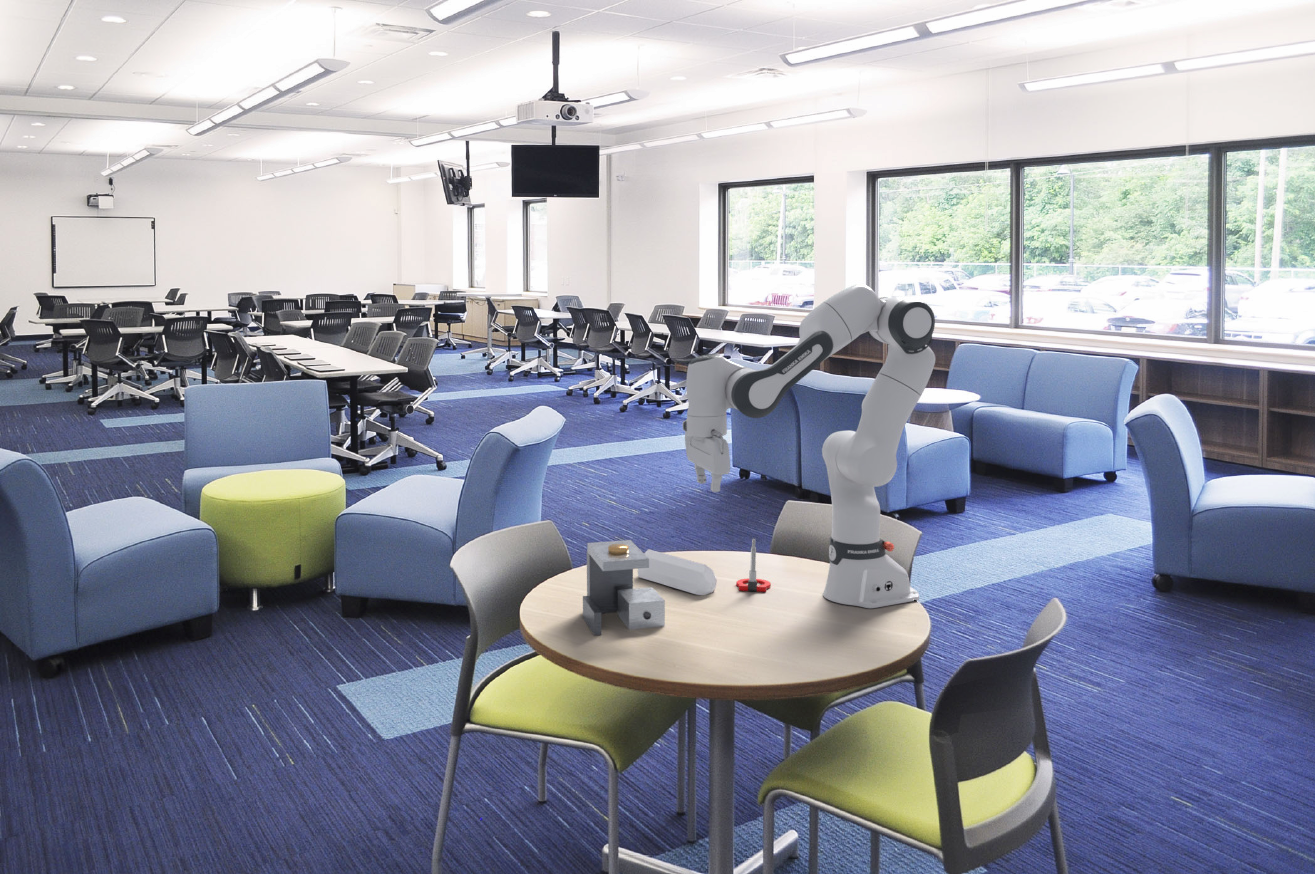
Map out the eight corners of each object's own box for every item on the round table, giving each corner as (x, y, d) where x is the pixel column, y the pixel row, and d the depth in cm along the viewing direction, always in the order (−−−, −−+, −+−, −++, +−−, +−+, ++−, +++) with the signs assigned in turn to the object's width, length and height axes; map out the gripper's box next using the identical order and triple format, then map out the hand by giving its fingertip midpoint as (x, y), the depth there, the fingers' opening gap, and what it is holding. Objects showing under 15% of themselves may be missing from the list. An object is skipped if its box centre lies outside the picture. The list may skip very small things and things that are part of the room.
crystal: (626, 564, 265) (696, 584, 249) (644, 545, 269) (714, 564, 252) (637, 585, 269) (706, 607, 252) (654, 567, 273) (724, 587, 256)
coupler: (629, 606, 244) (629, 533, 241) (648, 630, 228) (649, 553, 225) (578, 610, 241) (577, 537, 238) (594, 635, 225) (593, 557, 222)
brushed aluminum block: (652, 612, 240) (652, 587, 239) (665, 627, 230) (665, 601, 230) (617, 615, 238) (617, 590, 237) (629, 631, 228) (629, 604, 227)
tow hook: (737, 582, 265) (734, 591, 256) (738, 531, 263) (736, 539, 254) (771, 583, 263) (769, 593, 254) (772, 532, 262) (771, 540, 253)
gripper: (736, 432, 228) (737, 495, 231) (705, 419, 248) (707, 477, 250) (709, 435, 227) (710, 498, 229) (680, 421, 246) (681, 479, 248)
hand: (708, 487), depth 240 cm, fingers open, 8 cm apart
